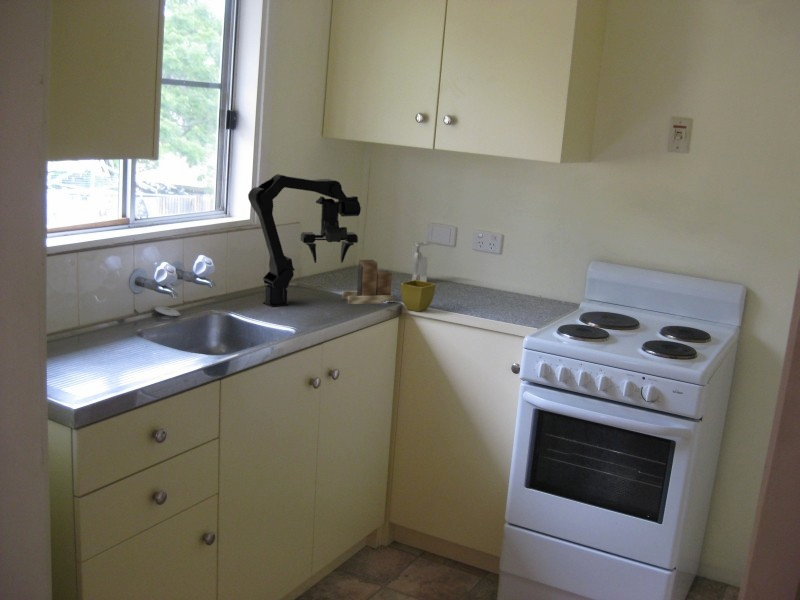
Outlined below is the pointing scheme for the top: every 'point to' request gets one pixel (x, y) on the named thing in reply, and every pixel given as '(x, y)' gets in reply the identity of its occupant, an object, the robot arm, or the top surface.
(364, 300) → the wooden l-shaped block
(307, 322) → the top surface
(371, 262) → the finger block
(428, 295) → the flower pot
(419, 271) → the soap dispenser bottle
